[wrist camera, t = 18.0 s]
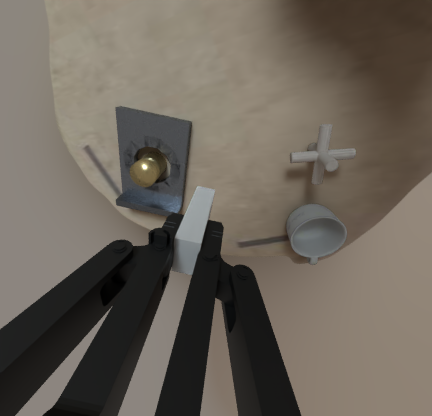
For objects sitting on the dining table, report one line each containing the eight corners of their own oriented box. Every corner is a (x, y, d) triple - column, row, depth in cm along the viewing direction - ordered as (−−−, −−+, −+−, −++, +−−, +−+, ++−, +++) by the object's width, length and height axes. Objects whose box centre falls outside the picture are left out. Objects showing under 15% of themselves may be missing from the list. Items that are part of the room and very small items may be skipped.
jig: (121, 106, 39) (106, 109, 34) (191, 121, 39) (185, 126, 35) (127, 194, 49) (116, 205, 45) (182, 206, 50) (176, 218, 45)
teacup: (289, 195, 45) (298, 215, 38) (340, 199, 44) (357, 221, 37) (277, 242, 52) (282, 266, 45) (319, 246, 51) (331, 271, 45)
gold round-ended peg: (144, 149, 43) (128, 160, 37) (167, 154, 43) (155, 165, 37) (144, 170, 46) (130, 184, 40) (166, 175, 46) (154, 189, 40)
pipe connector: (284, 173, 42) (294, 196, 34) (287, 122, 37) (300, 134, 29) (335, 170, 41) (359, 193, 32) (346, 117, 35) (379, 127, 27)
